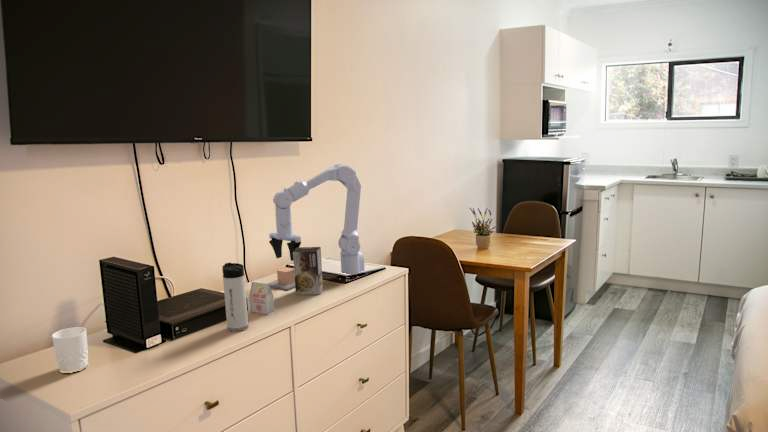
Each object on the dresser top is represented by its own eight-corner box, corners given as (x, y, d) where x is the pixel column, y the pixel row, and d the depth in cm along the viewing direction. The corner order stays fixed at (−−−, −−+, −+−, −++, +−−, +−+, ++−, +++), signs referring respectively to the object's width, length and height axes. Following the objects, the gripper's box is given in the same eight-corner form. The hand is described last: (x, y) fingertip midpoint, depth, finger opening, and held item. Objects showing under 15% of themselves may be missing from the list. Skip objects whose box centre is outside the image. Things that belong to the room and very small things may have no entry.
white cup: (76, 360, 155) (71, 325, 153) (97, 364, 152) (93, 328, 150) (49, 372, 148) (44, 336, 146) (71, 377, 145) (66, 340, 143)
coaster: (287, 277, 227) (287, 276, 227) (309, 282, 220) (309, 280, 220) (265, 285, 218) (264, 283, 218) (287, 290, 211) (287, 288, 211)
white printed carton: (257, 309, 192) (255, 280, 190) (274, 311, 189) (272, 282, 187) (250, 312, 189) (248, 283, 187) (267, 315, 186) (265, 285, 184)
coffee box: (323, 289, 211) (321, 246, 208) (319, 294, 205) (317, 250, 202) (299, 289, 212) (296, 246, 209) (295, 294, 206) (292, 251, 203)
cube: (287, 279, 222) (286, 267, 221) (296, 281, 219) (295, 268, 218) (277, 283, 218) (276, 270, 217) (287, 285, 215) (286, 272, 214)
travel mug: (240, 322, 180) (236, 260, 176) (252, 327, 175) (247, 264, 172) (222, 328, 176) (217, 264, 172) (234, 333, 171) (228, 268, 167)
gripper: (262, 223, 216) (264, 258, 218) (290, 227, 208) (292, 263, 210) (276, 220, 221) (278, 254, 224) (303, 223, 213) (305, 259, 216)
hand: (286, 258), depth 217 cm, fingers open, 7 cm apart
